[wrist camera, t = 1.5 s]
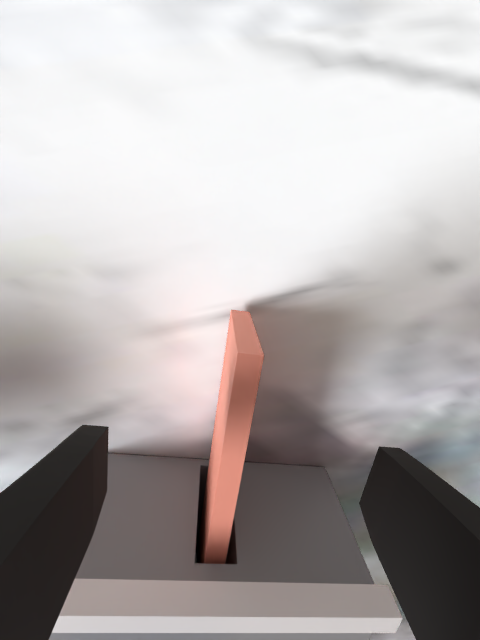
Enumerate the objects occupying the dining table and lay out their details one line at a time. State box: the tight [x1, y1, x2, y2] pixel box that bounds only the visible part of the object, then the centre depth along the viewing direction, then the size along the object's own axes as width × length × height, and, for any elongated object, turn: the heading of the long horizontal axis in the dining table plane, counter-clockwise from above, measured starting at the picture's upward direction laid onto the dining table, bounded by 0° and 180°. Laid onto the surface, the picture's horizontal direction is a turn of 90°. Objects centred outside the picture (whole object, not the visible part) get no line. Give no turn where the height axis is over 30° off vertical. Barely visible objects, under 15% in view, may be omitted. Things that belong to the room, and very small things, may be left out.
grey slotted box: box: [49, 453, 403, 640], centre depth 14 cm, size 8×12×7 cm, turn 82°
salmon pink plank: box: [197, 310, 264, 564], centre depth 13 cm, size 13×1×4 cm, turn 172°
